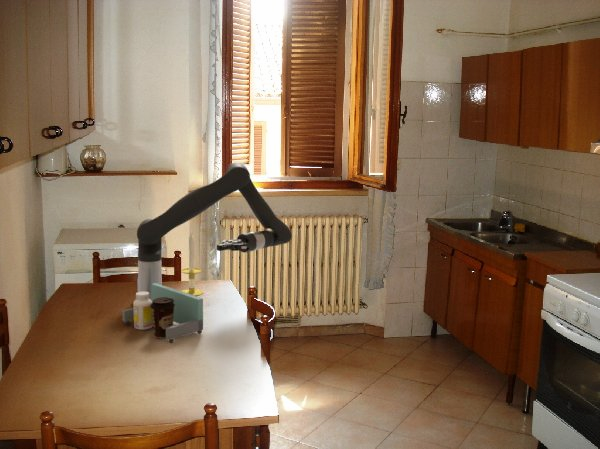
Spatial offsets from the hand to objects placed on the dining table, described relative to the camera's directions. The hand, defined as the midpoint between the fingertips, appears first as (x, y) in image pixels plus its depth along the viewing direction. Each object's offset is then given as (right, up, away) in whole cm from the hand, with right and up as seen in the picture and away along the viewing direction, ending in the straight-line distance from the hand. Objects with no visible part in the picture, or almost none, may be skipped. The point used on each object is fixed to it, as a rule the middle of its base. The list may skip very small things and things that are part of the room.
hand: (218, 248), depth 260 cm
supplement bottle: (-26, -28, -13) cm, 40 cm away
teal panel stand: (-18, -29, -14) cm, 37 cm away
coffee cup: (-17, -30, -21) cm, 40 cm away
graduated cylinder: (-15, -20, +31) cm, 40 cm away
